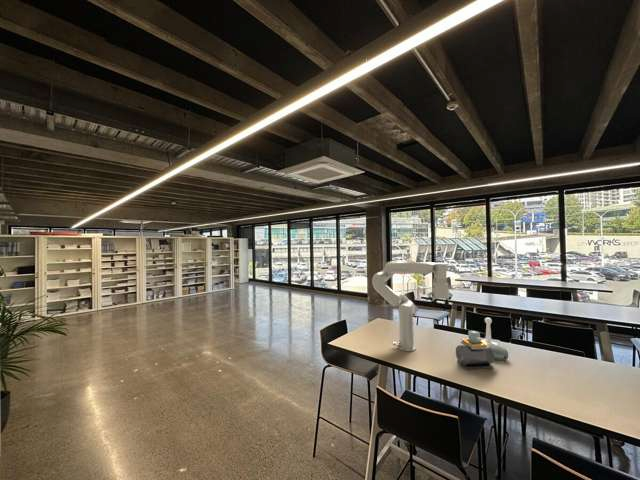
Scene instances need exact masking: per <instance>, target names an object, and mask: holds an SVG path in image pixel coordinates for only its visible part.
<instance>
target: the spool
mask: <svg viewBox="0 0 640 480" xmlns="http://www.w3.org/2000/svg"><path fill="white" fill-rule="evenodd" d="M488 346H489V347H490V348H491V349H492V351H493V353H494V360H497V361H507V360H508V359H509V352H508V350H507V349H506V348H505V347H503V346H499V345H498V346H496V345H488Z"/></svg>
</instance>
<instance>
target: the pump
mask: <svg viewBox="0 0 640 480" xmlns="http://www.w3.org/2000/svg"><path fill="white" fill-rule="evenodd" d="M467 332H468V333H467V334H468V339H469V342H470V343H471V344H480V342H481V341H482V340H483V339H482V337H481V332H479V331H477V330H468V331H467Z"/></svg>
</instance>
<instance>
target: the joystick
mask: <svg viewBox="0 0 640 480" xmlns="http://www.w3.org/2000/svg"><path fill="white" fill-rule="evenodd" d="M492 322H493V320H492V318H491V317H485V318H484V323H486V324H485V325H486V328H485V339H482V342H484V343H486V344H487V345H496V346H499V344H498V342H494V341H492V329H491V324H492Z"/></svg>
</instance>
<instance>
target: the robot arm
mask: <svg viewBox="0 0 640 480" xmlns="http://www.w3.org/2000/svg"><path fill="white" fill-rule="evenodd" d="M447 269H448V268H447V263H444V262H432V261H427V262H411V261H393V260H392V261H391V260H390V261H387V262H386V263H385V265H384V268H383V269H382V270H381V271H378V272H376V273H375V274H373V276H372V279H371V284H372V287H373V289H374V290H375V292H377V293H378V294H379V295H380V296H381V297H382V298H384V300H385V301H387V303H389V304H390V305H391V306H393V307H396V306H398V320H399V321H398V322H399V323H398V326H399V331H398V332H399V333H398V335H399V339H398V341H396V342H395V341H394V342H392V345H393V346H396V347H397V348H398V349H399V350H400V351H404V352H413V351H416V350H417V347H416V345H414V341H415V340H414V317H413V316H414V313H415V311H416V306H415V303H414V302H412V301H411V300H410V299H409V298H408V297H407V296H406V295H404V293H402V292H400V291H397V290H396V291H395V290H393V289H391V287H390V286H388V285H387V284H385V283H386V282H387V281H389V279H391V278H392V276H394V275H395V274H409V275H412V274H415V275H416V274H417V275H429V274H431V273H433V276H434V277H433V279H432V280H431V281H432V287H431V292H428V293H427V297H428V299H429V300H430V306H431V307H432V308H435V306H436V305H435V304H436V302H435V300H436V299H439V300H441V299H443V300H444V307H447V308H449V305H450V301H451V300H452V298H453V296H454V294H452V293H450V289H449V284H448V283H447Z"/></svg>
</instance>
